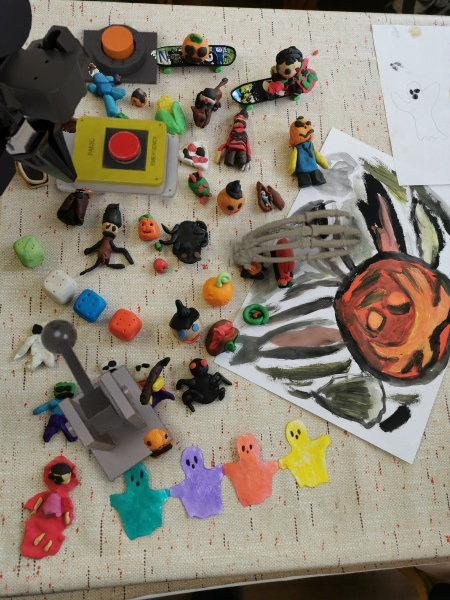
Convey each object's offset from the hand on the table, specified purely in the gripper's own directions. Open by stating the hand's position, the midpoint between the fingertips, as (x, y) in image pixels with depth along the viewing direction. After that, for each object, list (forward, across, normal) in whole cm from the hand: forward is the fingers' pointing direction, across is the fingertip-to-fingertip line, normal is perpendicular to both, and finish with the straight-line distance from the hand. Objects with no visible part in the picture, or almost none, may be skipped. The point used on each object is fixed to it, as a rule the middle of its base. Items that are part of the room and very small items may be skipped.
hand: (72, 180), depth 56 cm
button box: (+4, +27, +10) cm, 29 cm away
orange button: (+2, +27, +9) cm, 28 cm away
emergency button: (+10, +12, +7) cm, 17 cm away
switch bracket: (+20, -18, -1) cm, 27 cm away
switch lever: (+10, -17, -3) cm, 20 cm away
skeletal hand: (+23, +9, -14) cm, 29 cm away
